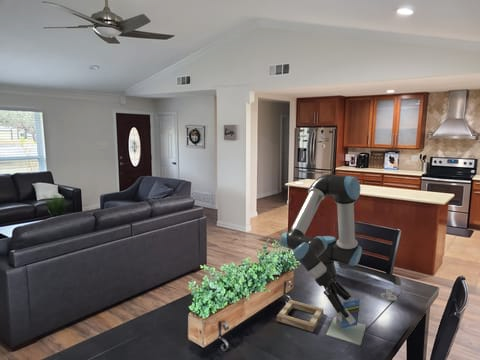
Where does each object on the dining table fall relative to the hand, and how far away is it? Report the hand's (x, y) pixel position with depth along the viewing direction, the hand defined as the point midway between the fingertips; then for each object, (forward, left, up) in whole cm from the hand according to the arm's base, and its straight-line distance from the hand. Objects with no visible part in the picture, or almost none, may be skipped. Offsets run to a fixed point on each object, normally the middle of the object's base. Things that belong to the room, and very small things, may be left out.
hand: (355, 317), depth 145 cm
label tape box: (0, -3, -5) cm, 6 cm away
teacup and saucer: (-41, +8, -8) cm, 42 cm away
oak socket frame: (0, -24, -7) cm, 25 cm away
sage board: (0, -3, -7) cm, 8 cm away
